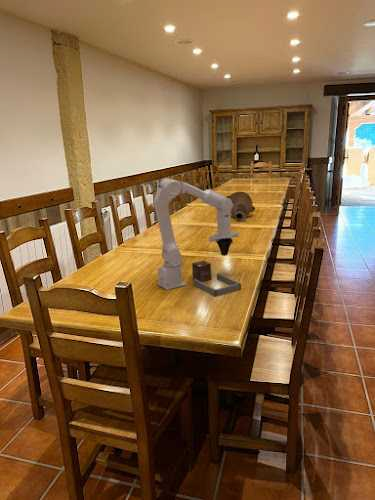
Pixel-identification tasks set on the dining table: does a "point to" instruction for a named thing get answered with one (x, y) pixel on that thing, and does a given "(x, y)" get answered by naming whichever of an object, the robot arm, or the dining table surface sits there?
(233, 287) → the grey arch frame
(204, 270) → the box
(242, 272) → the dining table surface
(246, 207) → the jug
